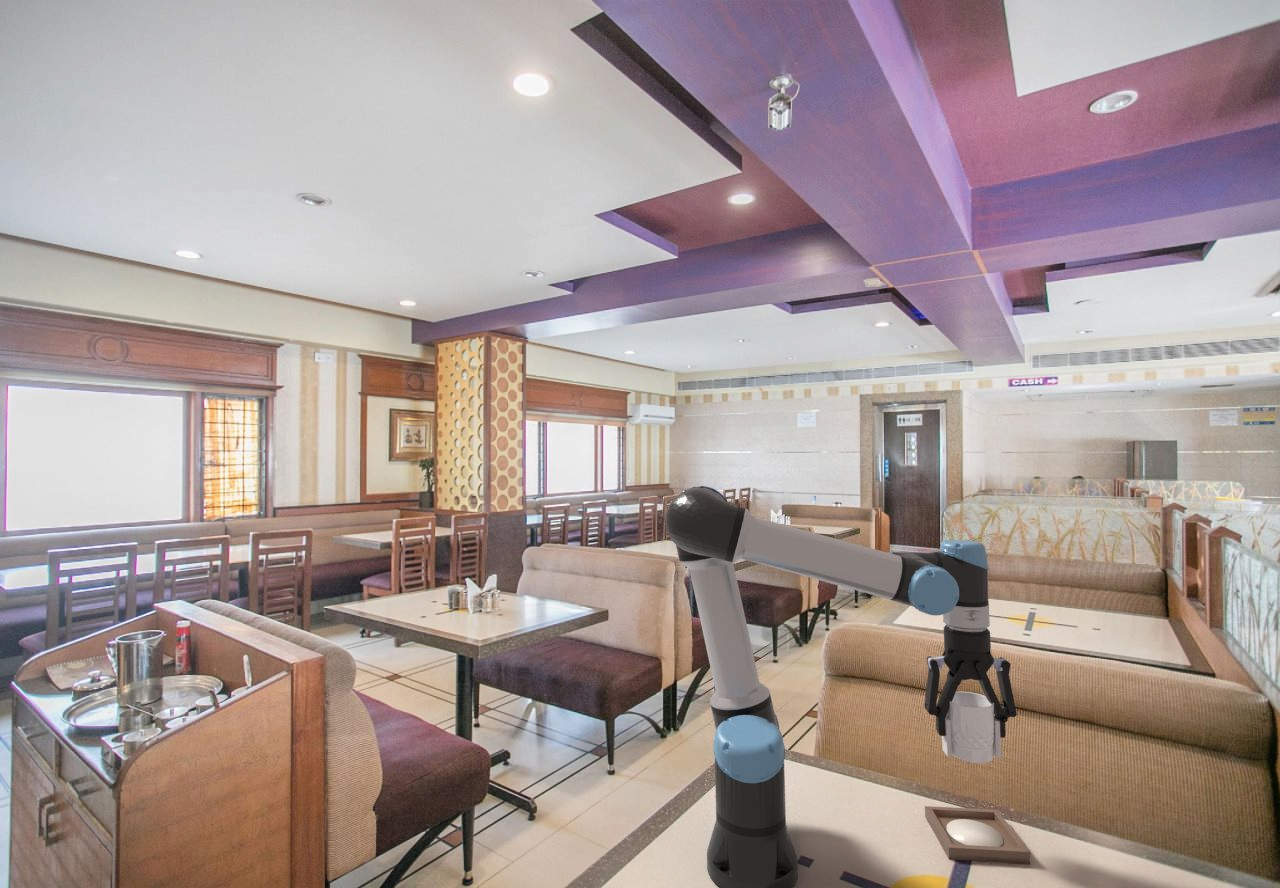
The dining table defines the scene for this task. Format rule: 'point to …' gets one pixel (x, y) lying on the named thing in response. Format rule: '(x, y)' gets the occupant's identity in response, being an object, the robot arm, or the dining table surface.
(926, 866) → the dining table surface
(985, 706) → the white cup
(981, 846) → the tray
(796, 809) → the dining table surface
